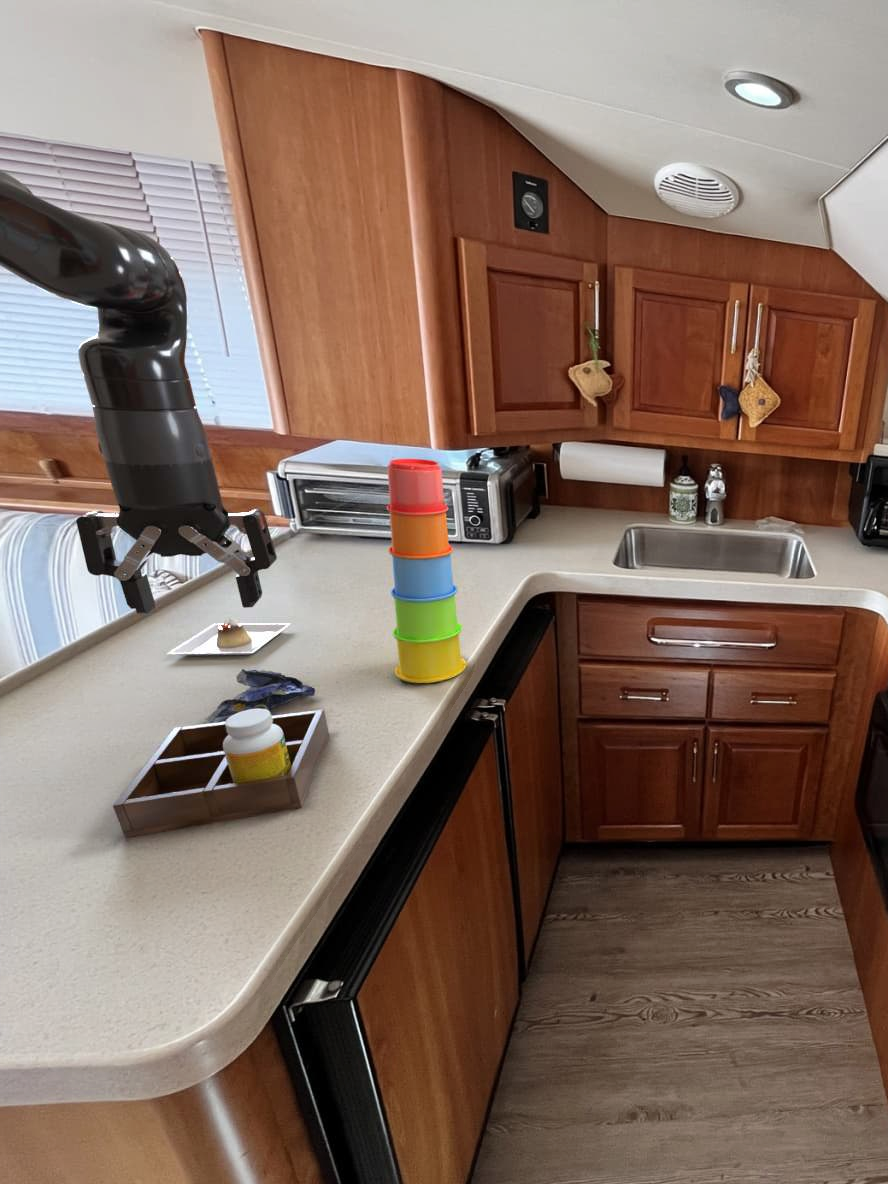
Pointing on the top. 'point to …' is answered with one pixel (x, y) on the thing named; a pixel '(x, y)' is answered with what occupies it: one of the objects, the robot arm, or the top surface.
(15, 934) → the top surface
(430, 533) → the stacking cups
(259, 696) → the snack package
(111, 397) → the robot arm
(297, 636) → the top surface
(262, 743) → the supplement bottle
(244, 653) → the dessert
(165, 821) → the compartment tray
